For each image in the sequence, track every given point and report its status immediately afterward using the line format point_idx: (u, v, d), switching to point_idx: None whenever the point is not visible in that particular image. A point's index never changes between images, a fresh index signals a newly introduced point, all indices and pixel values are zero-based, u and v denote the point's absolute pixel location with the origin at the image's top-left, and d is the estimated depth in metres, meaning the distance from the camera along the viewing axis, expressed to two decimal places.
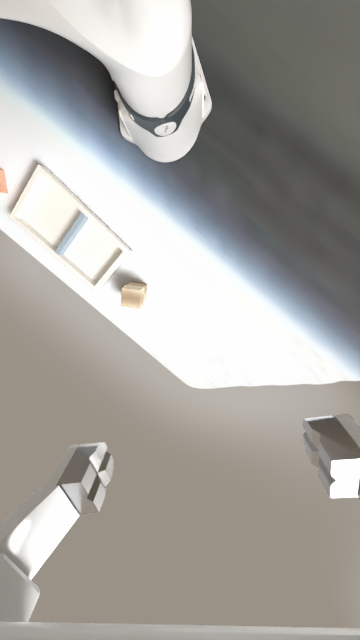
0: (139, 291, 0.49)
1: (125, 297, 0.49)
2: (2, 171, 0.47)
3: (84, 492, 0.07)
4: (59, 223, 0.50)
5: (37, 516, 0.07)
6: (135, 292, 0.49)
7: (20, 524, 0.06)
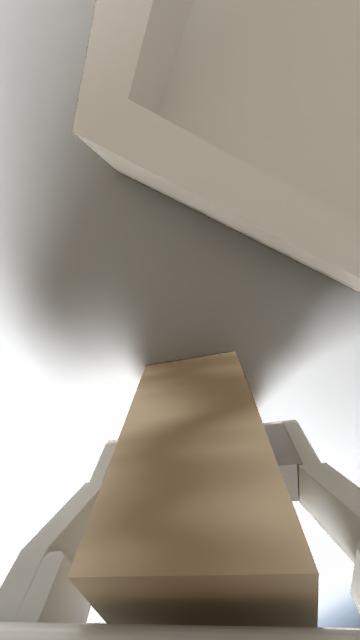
0: None
1: (192, 599, 0.04)
2: None
3: None
4: None
5: (87, 513, 0.06)
6: None
7: (72, 522, 0.06)
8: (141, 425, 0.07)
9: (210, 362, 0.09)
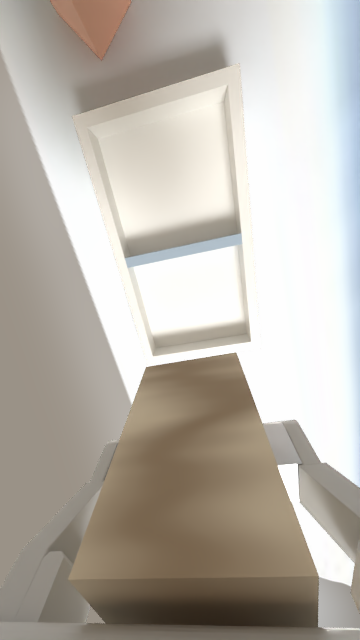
0: None
1: (193, 601, 0.04)
2: None
3: None
4: (170, 211, 0.22)
5: (87, 513, 0.06)
6: None
7: (72, 522, 0.06)
8: (141, 427, 0.07)
9: (210, 364, 0.09)
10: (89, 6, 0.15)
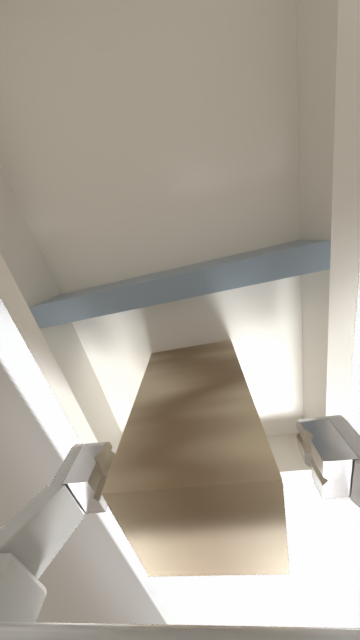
0: (280, 571, 0.06)
1: (193, 509, 0.05)
2: None
3: (90, 491, 0.07)
4: (138, 188, 0.09)
5: (44, 516, 0.07)
6: (264, 554, 0.06)
7: (26, 524, 0.06)
8: (150, 397, 0.08)
9: (208, 349, 0.11)
10: None
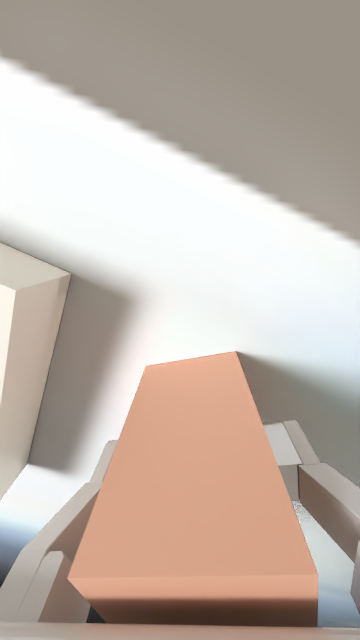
0: None
1: None
2: None
3: None
4: None
5: (87, 513, 0.06)
6: None
7: (72, 522, 0.06)
8: None
9: None
10: None
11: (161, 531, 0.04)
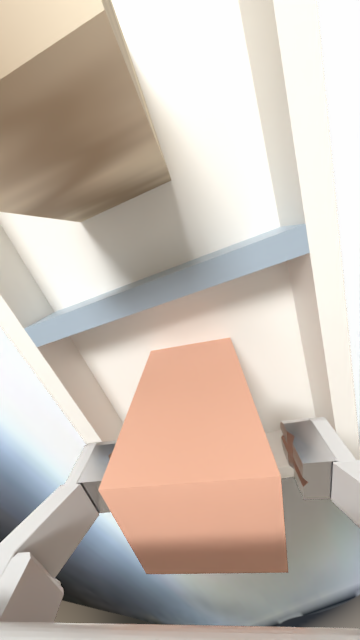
0: None
1: None
2: None
3: None
4: None
5: (60, 515, 0.06)
6: None
7: (43, 523, 0.06)
8: (133, 155, 0.05)
9: (98, 209, 0.09)
10: None
11: (167, 460, 0.06)
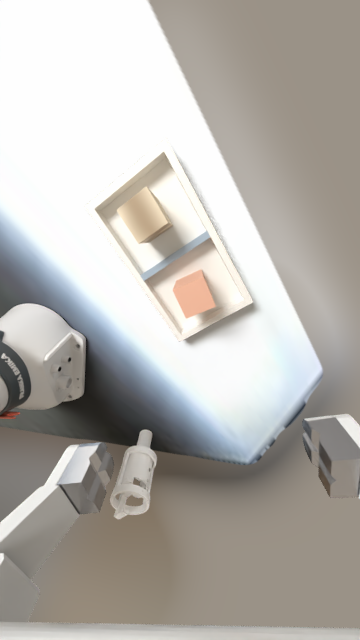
0: (119, 210, 0.25)
1: (148, 226, 0.25)
2: None
3: (84, 492, 0.07)
4: None
5: (37, 516, 0.07)
6: (126, 216, 0.25)
7: (19, 525, 0.06)
8: (166, 227, 0.28)
9: (155, 237, 0.32)
10: None
11: (184, 284, 0.28)
